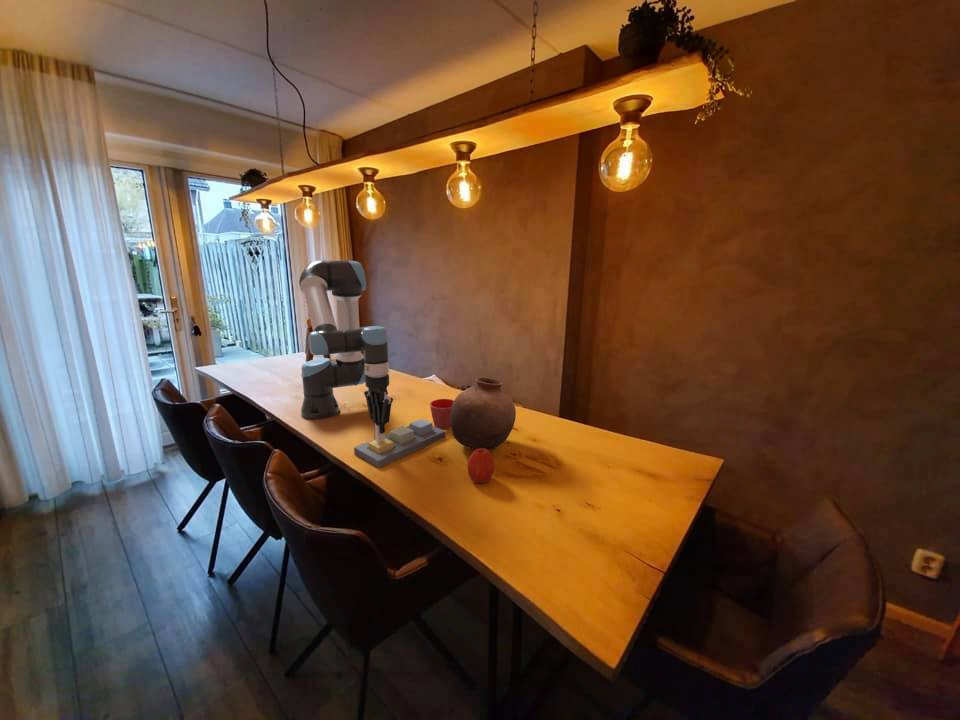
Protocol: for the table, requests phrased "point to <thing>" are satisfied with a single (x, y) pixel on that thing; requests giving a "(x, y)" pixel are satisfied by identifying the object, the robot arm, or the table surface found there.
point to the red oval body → (480, 466)
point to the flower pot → (441, 412)
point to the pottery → (482, 415)
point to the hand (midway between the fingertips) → (380, 440)
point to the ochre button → (380, 446)
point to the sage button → (401, 435)
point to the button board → (398, 448)
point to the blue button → (421, 427)
